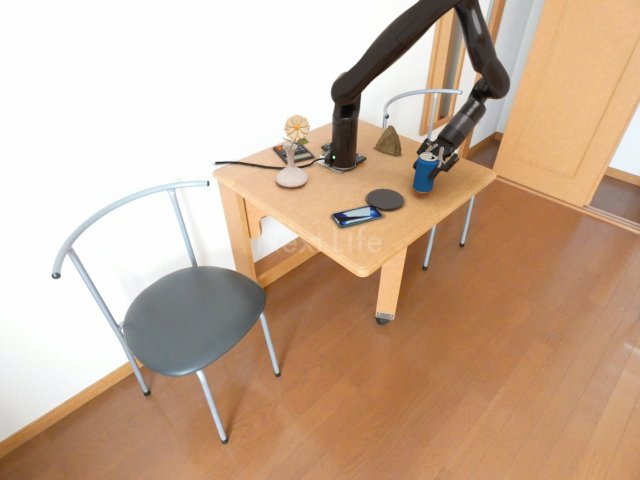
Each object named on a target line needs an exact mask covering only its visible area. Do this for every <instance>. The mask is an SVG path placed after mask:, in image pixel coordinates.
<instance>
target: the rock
mask: <svg viewBox="0 0 640 480" xmlns="http://www.w3.org/2000/svg"><path fill="white" fill-rule="evenodd" d="M374 149H375V150H378V151H380V152H382V153H385V154H389V155H393V156H396V157H397V156H401V155H402V143H401V139H400V136H399V134H398V132H397V130H396V128H395V127H394V126H393V125H391V124H389V125H388V126H387V127H386V129H384V131H383V133H382V134H381V135H380V136H379V138H378V140H377V142H376V144H375V146H374Z"/></svg>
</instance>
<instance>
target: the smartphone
mask: <svg viewBox="0 0 640 480" xmlns="http://www.w3.org/2000/svg"><path fill="white" fill-rule="evenodd" d="M383 217H384V215H383V213H382V212H381V211H380V210H378V209H376V208H374V207H372V206H371V205H369V204H368V205H364V206H360V207H355V208H351V209H347V210H342V211H337V212H333V213H331V218H332V219H333V220H334V222H335V223H336V224H337V226H338V227H339V228H340V229H345V228H349V227H353V226H357V225H360V224H363V223H367V222H372V221H375V220H380V219H382V218H383Z"/></svg>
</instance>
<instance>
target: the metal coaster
mask: <svg viewBox="0 0 640 480" xmlns="http://www.w3.org/2000/svg"><path fill="white" fill-rule="evenodd" d="M366 202H367V204H368V205H371V206H372V207H374V208H376V209H378V210H379V211H380V212H393V211H397V210H399V209H400V208H402V207H403V204H404V197H403V195H402V194H401V193H400V192H398V191H396V190H393V189H390V188H377V189H374V190H371V191H370V192H369V193H367V195H366Z"/></svg>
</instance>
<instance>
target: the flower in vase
mask: <svg viewBox="0 0 640 480" xmlns="http://www.w3.org/2000/svg"><path fill="white" fill-rule="evenodd" d="M309 123H310V122H309V120H308V118H306V117H305V116H303V115H300V114H297V113H296V114H295V115H292V116H290V117H288V118H287V119H286V121H285V123H284V124H285V125H284V127H283V131H284V132H285V134H286V137H287V138H284V137H282V139H283V140H285V141H287V142H289V143H285V144H282V145H283V149H284V150H285V151H286V154H287V159H288V164H286V166H285V167H286V168H284V169H280V171H279V172H278V173H277V174H276V177H275V181H276V182H277V184H278V185H279V186H281V187H284V188H290V189H291V188H298V187H301V186H303V185H305V184H306V183H307V181H308V180H309V176H308V173H306V171H304V170H303V169H302V168H298V167H296V166H297V165H296V164H295V163H294V153H295V150H296V149H297V147H298V146H297V145H296V144H294V143H295V142H299V144H301V145H303V146H304V145H307V144H310V141H309V140H308V139H307V137H308V133H309V132H310V128H311V125H310V124H309ZM288 138H289V139H288ZM290 139H291V140H293V141H291V140H290Z"/></svg>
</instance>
